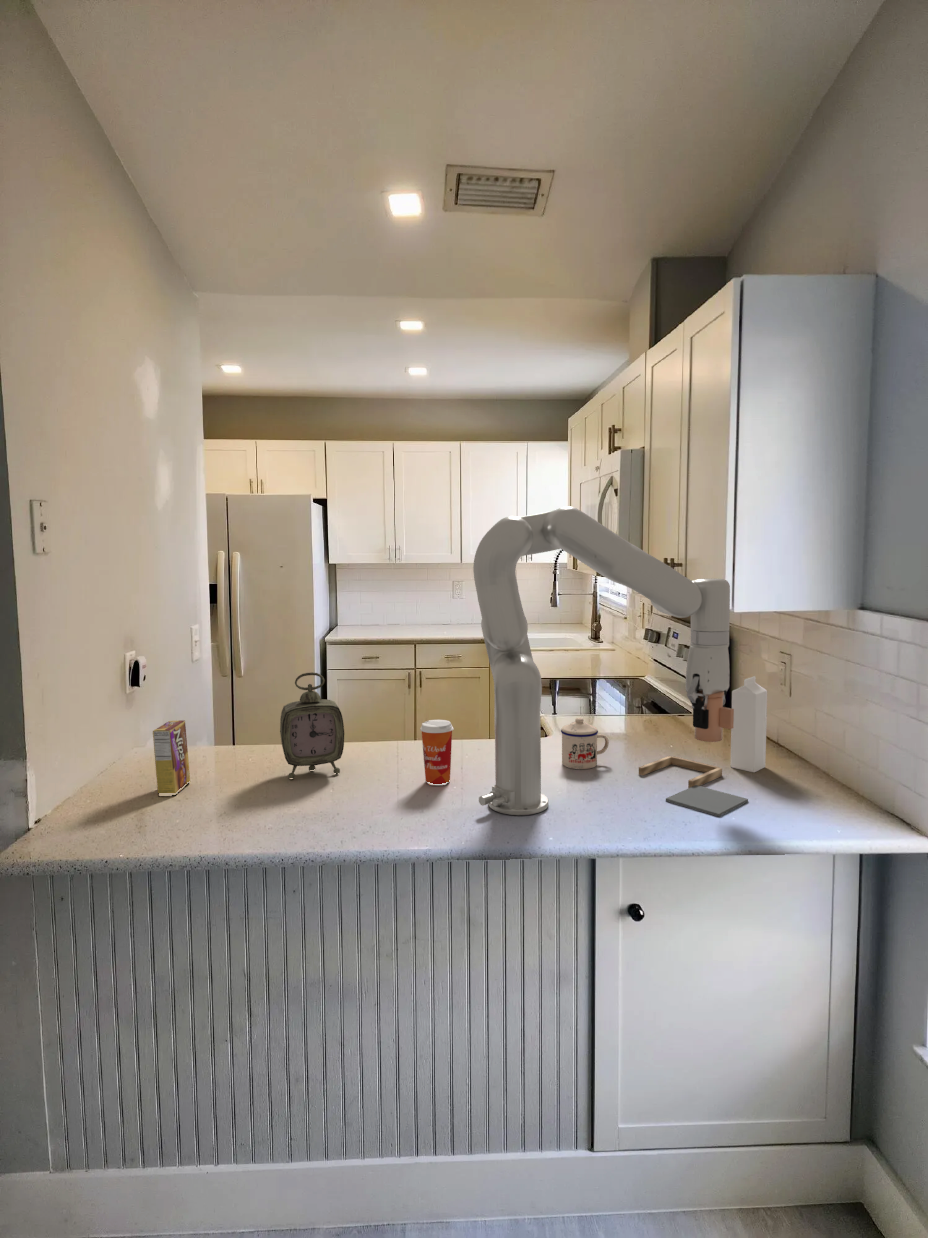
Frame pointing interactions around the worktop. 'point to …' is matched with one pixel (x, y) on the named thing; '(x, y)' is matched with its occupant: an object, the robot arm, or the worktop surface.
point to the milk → (749, 726)
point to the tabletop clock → (311, 730)
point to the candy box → (171, 756)
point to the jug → (715, 719)
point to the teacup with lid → (581, 745)
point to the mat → (707, 800)
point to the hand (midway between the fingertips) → (708, 724)
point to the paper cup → (437, 750)
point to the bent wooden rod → (709, 770)
